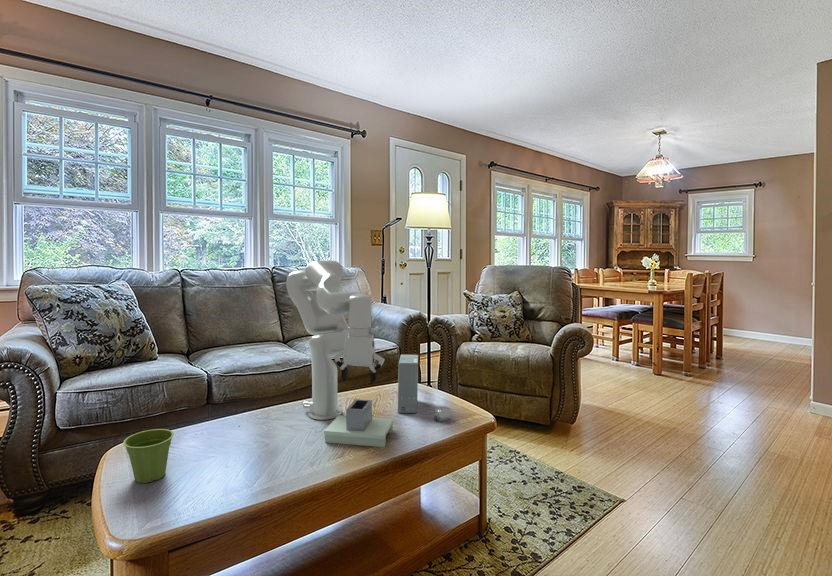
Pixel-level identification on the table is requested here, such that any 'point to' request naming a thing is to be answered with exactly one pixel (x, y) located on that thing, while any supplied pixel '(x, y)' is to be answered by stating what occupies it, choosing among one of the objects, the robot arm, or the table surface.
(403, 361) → the hard drive box
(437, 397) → the table surface
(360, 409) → the housing
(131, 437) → the plant pot
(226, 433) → the table surface
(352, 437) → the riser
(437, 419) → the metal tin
